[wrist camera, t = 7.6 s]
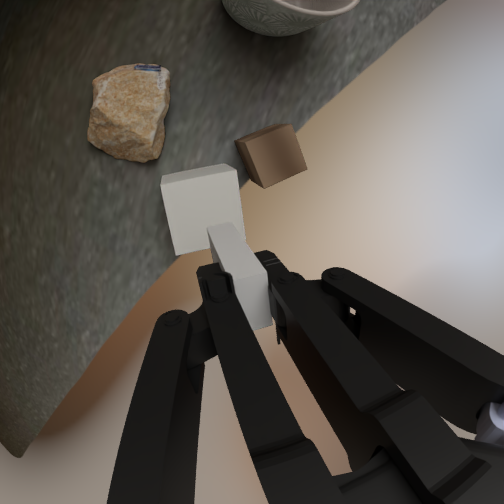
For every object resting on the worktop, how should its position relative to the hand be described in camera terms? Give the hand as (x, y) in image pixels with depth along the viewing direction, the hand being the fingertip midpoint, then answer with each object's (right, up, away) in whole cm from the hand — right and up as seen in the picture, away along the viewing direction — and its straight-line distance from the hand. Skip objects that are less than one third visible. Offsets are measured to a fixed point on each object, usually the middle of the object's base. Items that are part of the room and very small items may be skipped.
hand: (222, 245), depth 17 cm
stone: (-11, +14, +9) cm, 20 cm away
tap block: (-4, +6, +14) cm, 16 cm away
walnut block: (+3, +11, +14) cm, 18 cm away
